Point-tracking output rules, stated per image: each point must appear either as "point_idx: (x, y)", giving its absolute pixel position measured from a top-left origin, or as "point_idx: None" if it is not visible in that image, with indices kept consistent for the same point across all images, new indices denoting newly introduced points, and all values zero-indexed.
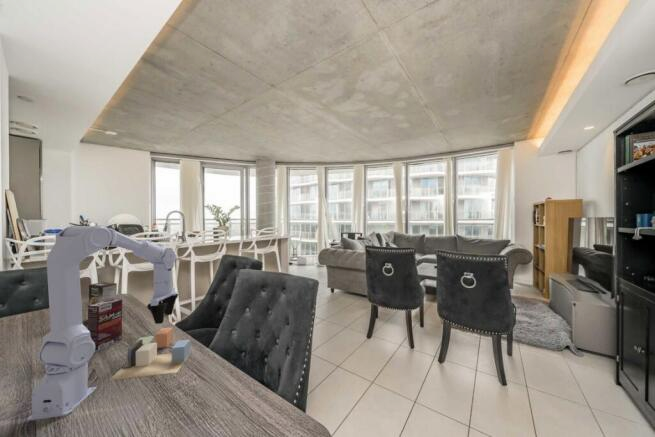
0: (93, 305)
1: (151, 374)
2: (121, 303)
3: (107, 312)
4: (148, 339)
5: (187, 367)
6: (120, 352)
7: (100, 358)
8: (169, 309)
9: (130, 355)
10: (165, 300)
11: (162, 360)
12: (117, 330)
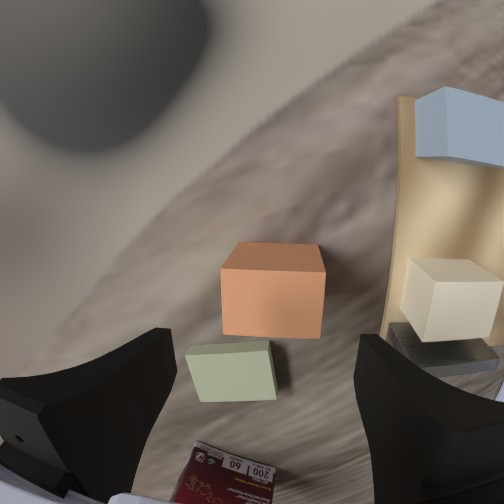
0: None
1: None
2: None
3: None
4: (225, 365)
5: (499, 98)
6: (294, 417)
7: (322, 447)
8: (151, 371)
9: (486, 345)
10: (118, 470)
11: (453, 214)
12: (201, 483)
